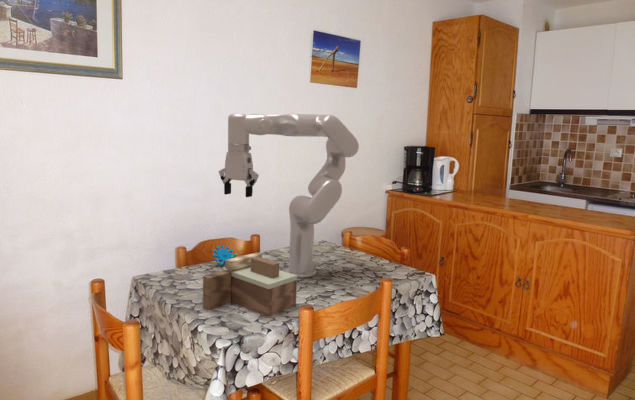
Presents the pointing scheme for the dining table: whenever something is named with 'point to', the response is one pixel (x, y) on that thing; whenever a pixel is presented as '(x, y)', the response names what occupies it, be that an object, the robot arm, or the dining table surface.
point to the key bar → (240, 261)
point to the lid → (263, 273)
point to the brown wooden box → (247, 294)
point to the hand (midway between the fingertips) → (238, 195)
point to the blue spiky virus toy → (223, 254)
